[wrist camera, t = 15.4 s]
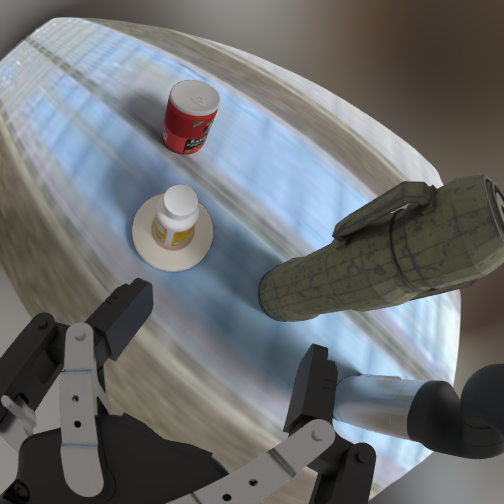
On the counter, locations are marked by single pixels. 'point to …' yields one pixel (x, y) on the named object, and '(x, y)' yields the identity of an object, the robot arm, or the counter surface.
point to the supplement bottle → (176, 215)
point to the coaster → (166, 255)
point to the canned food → (189, 116)
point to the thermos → (395, 251)
